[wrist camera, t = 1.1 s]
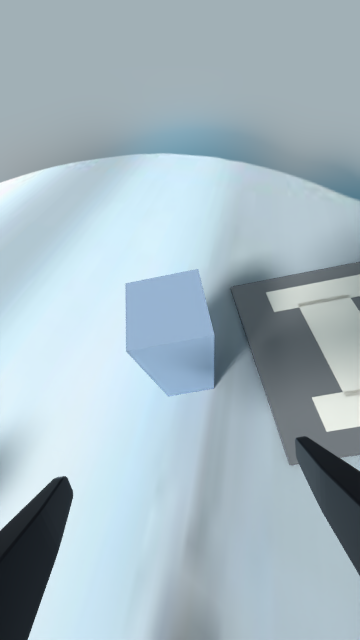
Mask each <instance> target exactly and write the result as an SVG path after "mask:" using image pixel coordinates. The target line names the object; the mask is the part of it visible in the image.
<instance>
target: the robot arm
mask: <svg viewBox="0 0 360 640" xmlns="http://www.w3.org/2000/svg"><path fill="white" fill-rule="evenodd" d="M295 450H296V458H297V461H298V463H299V465H300V467H301V469H302V471H303V473H304V475H305V477H306V480H307V482H308V484H309V486H310V488H311V490H312V492H313V494H314V496H315V498H316V500H317V502H318V504H319V506H320V508H321V510H322V512H323V514H324V516H325V517H326V519H327V521H328V522H329V524H330V526H331V528H332V529H333V531H334V533H335V534H336V536H337V538H338V539H339V541H340V543H341V545H342V546H343V548H344V550H345V551H346V553H347V555H348V556H349V558H350V560H351V562H352V563H353V565H354V567H355V568H356V570H357V572H358V573H359V575H360V471H359V470H357V469H356V468H354V467H353V466H351V465H349V464H348V463H346V462H345V461H343V460H342V459H340V458H339V457H337V456H336V455H334V454H333V453H331V452H330V451H328V450H327V449H325V448H324V447H322V446H321V445H319V444H318V443H316V442H315V441H313V440H312V439H310V438H309V437H307V436H302V437H297V438H295ZM72 499H73V490H72V488H71V485H70V483H69V481H68V478H67V477H66V476H62V477H57V478H54V479H53V480H52V481H51V482H50V483H49V484H48V485H47V486H46V487H45V488H44V489H43V490H42V491H41V492H40V493H39V494H38V495H37V496H36V497H35V498H34V499H32V500H31V501H30V502H29V503H28V504H27V505H26V506H25V507H24V508H23V509H22V510H21V511H20V512H19V513H18V514H17V515H16V516H15V517H14V518H13V519H12V520H11V521H10V522H9V523H8V524H7V525H6V526H5V527H4V528H3V529H2V530H1V531H0V640H28V637H29V634H30V631H31V628H32V625H33V623H34V620H35V617H36V614H37V611H38V608H39V605H40V603H41V600H42V597H43V594H44V591H45V588H46V585H47V582H48V580H49V577H50V574H51V571H52V568H53V565H54V562H55V560H56V556H57V553H58V550H59V547H60V544H61V540H62V537H63V533H64V529H65V525H66V522H67V518H68V514H69V510H70V507H71V503H72Z"/></svg>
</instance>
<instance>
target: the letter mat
mask: <svg viewBox="0 0 360 640" xmlns="http://www.w3.org/2000/svg"><path fill="white" fill-rule="evenodd" d="M231 291H232V294H233V297H234V300H235V303H236V306H237V309H238V312H239V315H240V318H241V321H242V324H243V327H244V330H245V333H246V336H247V339H248V342H249V345H250V348H251V351H252V354H253V357H254V360H255V363H256V366H257V369H258V372H259V375H260V378H261V381H262V384H263V387H264V390H265V393H266V396H267V399H268V402H269V405H270V408H271V411H272V414H273V417H274V420H275V423H276V426H277V429H278V432H279V435H280V438H281V441H282V444H283V447H284V450H285V453H286V456H287V459H288V462H289V465H296V464H299V463H298V461H297V458H296V450H295V438H297V437H302V436H307V437H309V438H310V439H312V440H313V441H315V442H316V443H318V444H319V445H321V446H322V447H324V448H325V449H327V450H328V451H330V452H331V453H333V454H334V455H336V456H337V457H339V458H341V457H347V456H354V455H360V262H356V263H351V264H346V265H341V266H336V267H331V268H326V269H320V270H315V271H310V272H305V273H300V274H295V275H290V276H284V277H279V278H274V279H269V280H264V281H259V282H254V283H248V284H243V285H238V286H233V287H231Z"/></svg>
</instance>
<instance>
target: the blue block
mask: <svg viewBox="0 0 360 640" xmlns="http://www.w3.org/2000/svg"><path fill="white" fill-rule="evenodd" d="M126 352H127V353H128V354H129V355H130V356H131V357H132V358H133V359H134V360H135V361H136V362H137V363H138V365H139V366H140V367H141V368H142V369H143V370H144V371H145V372H146V373H147V374H148V375H149V376H150V377H151V378H152V380H153V381H154V382H155V383H156V384H157V385H158V386H159V387H160V388H161V389H162V390H163V391H164V392H165V393H166V395H167V396H173V395H179V394H185V393H190V392H196V391H202V390H208V389H213V388H214V331H213V327H212V323H211V319H210V315H209V311H208V307H207V303H206V299H205V295H204V291H203V287H202V283H201V279H200V275H199V271H198V269H196V270H191V271H186V272H181V273H176V274H171V275H166V276H161V277H156V278H151V279H146V280H141V281H136V282H131V283H126Z"/></svg>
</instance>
